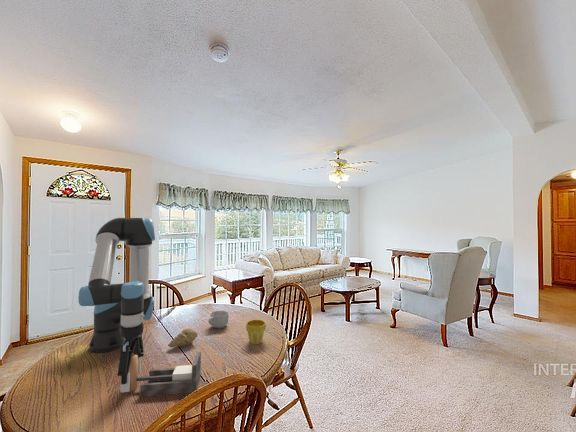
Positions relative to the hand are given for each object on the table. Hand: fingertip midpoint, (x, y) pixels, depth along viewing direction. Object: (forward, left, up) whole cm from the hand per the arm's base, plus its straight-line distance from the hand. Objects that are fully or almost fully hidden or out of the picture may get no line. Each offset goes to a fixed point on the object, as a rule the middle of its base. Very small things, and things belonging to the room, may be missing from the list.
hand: (131, 382), depth 106 cm
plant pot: (+48, +35, -3) cm, 59 cm away
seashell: (+11, +34, -3) cm, 36 cm away
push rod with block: (+10, 0, -2) cm, 11 cm away
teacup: (+26, +57, -3) cm, 63 cm away
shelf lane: (+14, 0, -2) cm, 14 cm away
